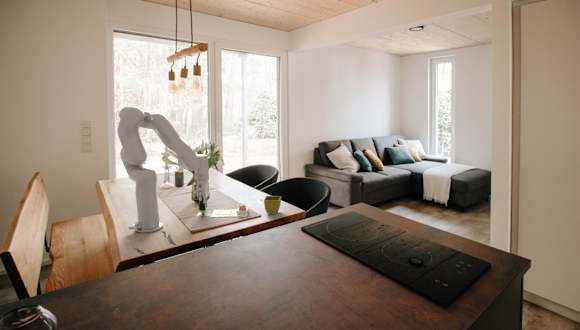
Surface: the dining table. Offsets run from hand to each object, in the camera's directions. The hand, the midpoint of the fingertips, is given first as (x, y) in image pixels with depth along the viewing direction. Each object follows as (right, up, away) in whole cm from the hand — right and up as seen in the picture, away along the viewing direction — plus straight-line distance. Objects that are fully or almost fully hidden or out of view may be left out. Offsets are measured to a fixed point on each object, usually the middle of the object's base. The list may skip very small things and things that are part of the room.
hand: (203, 208), depth 176 cm
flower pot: (+39, -3, +3) cm, 39 cm away
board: (+15, -3, +2) cm, 15 cm away
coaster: (0, -4, +1) cm, 4 cm away
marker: (0, -3, 0) cm, 3 cm away
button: (+22, -1, +2) cm, 22 cm away
